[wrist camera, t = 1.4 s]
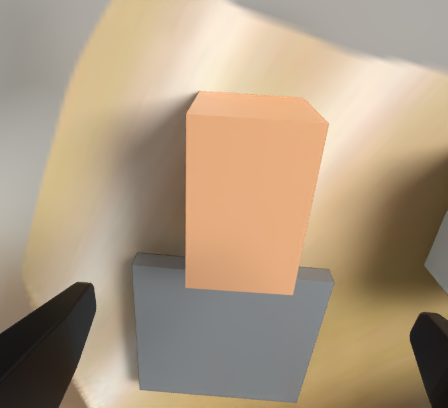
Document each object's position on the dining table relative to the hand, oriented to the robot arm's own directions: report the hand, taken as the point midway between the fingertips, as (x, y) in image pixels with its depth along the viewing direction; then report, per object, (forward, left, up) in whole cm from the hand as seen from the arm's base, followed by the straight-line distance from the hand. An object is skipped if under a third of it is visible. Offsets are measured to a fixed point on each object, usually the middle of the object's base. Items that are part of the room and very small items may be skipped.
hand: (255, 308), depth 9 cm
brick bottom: (0, 0, -10) cm, 10 cm away
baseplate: (0, +12, -10) cm, 15 cm away
